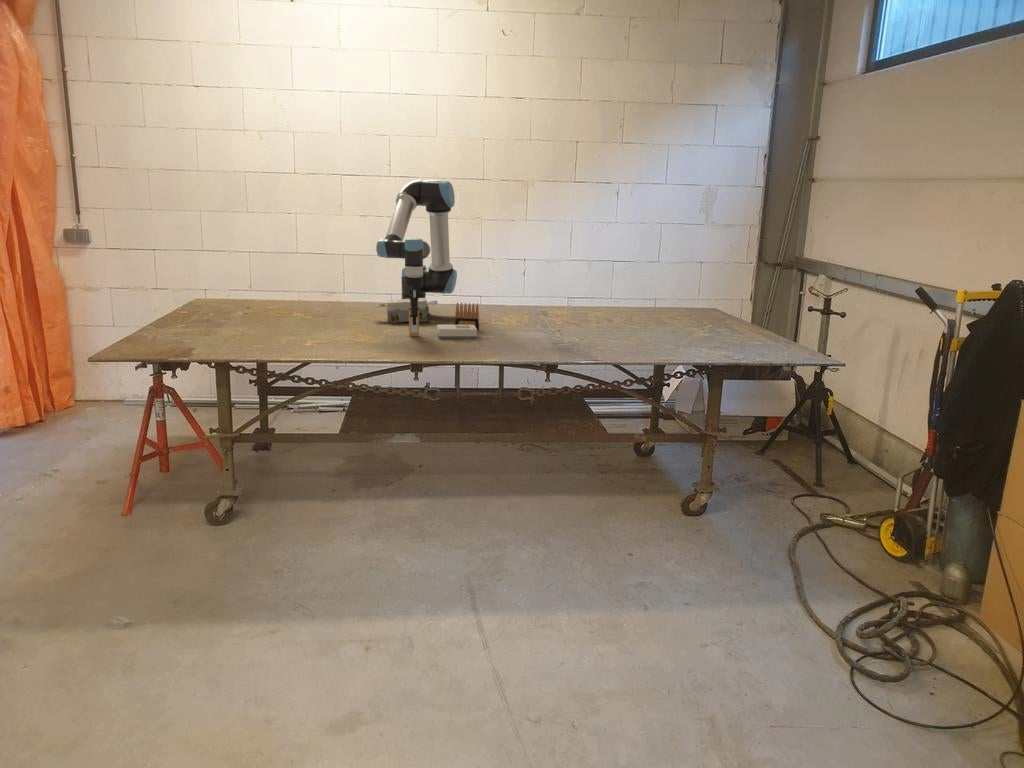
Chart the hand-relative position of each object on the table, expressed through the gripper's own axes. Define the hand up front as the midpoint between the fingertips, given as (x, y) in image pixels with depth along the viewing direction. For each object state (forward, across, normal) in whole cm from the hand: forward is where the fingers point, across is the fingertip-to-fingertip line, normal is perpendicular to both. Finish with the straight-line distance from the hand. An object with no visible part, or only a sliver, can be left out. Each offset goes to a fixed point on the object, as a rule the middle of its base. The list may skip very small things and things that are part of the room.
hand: (413, 330), depth 317 cm
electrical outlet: (+2, -33, -2) cm, 33 cm away
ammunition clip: (+2, -13, +24) cm, 27 cm away
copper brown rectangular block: (+2, 0, 0) cm, 2 cm away
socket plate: (+2, +2, +18) cm, 18 cm away
